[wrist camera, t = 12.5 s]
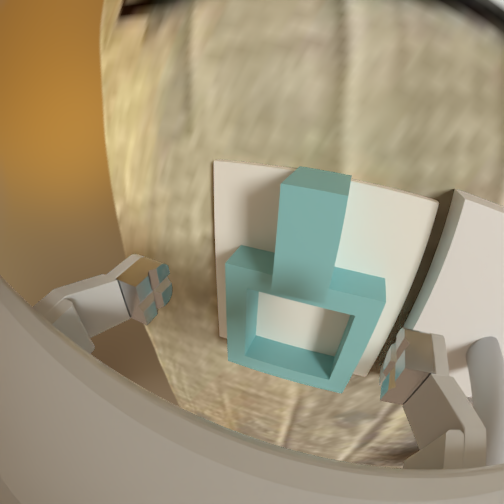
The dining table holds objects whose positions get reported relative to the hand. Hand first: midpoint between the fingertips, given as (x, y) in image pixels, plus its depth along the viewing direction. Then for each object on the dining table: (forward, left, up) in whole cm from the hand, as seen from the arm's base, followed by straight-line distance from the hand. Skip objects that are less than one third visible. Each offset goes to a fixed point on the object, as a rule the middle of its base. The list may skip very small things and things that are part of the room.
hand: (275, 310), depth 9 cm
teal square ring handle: (+5, 0, -9) cm, 11 cm away
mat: (+6, 0, -10) cm, 11 cm away
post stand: (+5, +15, -10) cm, 18 cm away
